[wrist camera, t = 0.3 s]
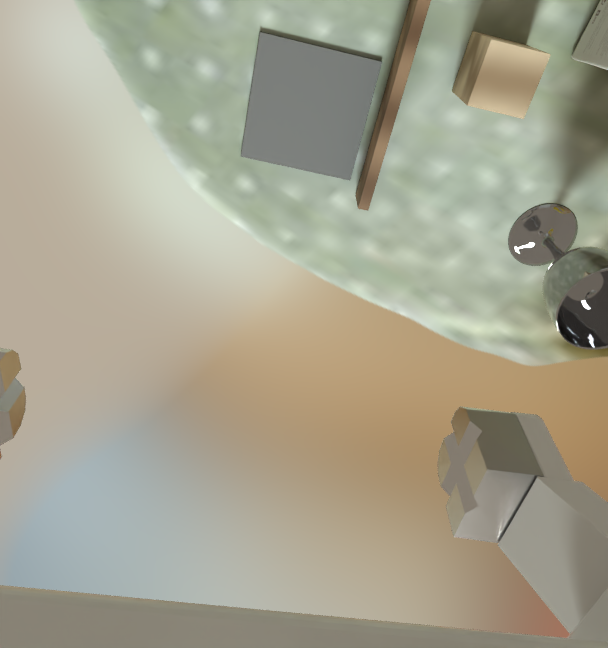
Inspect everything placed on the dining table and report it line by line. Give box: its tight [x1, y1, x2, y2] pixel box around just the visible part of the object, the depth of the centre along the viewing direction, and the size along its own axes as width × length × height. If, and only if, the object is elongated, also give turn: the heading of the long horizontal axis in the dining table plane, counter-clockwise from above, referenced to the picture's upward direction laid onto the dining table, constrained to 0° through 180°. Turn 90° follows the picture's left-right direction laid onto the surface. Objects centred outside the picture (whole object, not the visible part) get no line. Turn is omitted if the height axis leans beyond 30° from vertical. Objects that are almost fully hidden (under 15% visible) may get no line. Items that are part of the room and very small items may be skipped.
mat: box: [241, 32, 382, 180], centre depth 51 cm, size 11×11×1 cm
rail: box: [356, 0, 431, 210], centre depth 50 cm, size 18×1×4 cm, turn 168°
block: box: [452, 31, 551, 119], centre depth 47 cm, size 5×5×6 cm
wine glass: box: [508, 204, 608, 349], centre depth 52 cm, size 8×8×15 cm
